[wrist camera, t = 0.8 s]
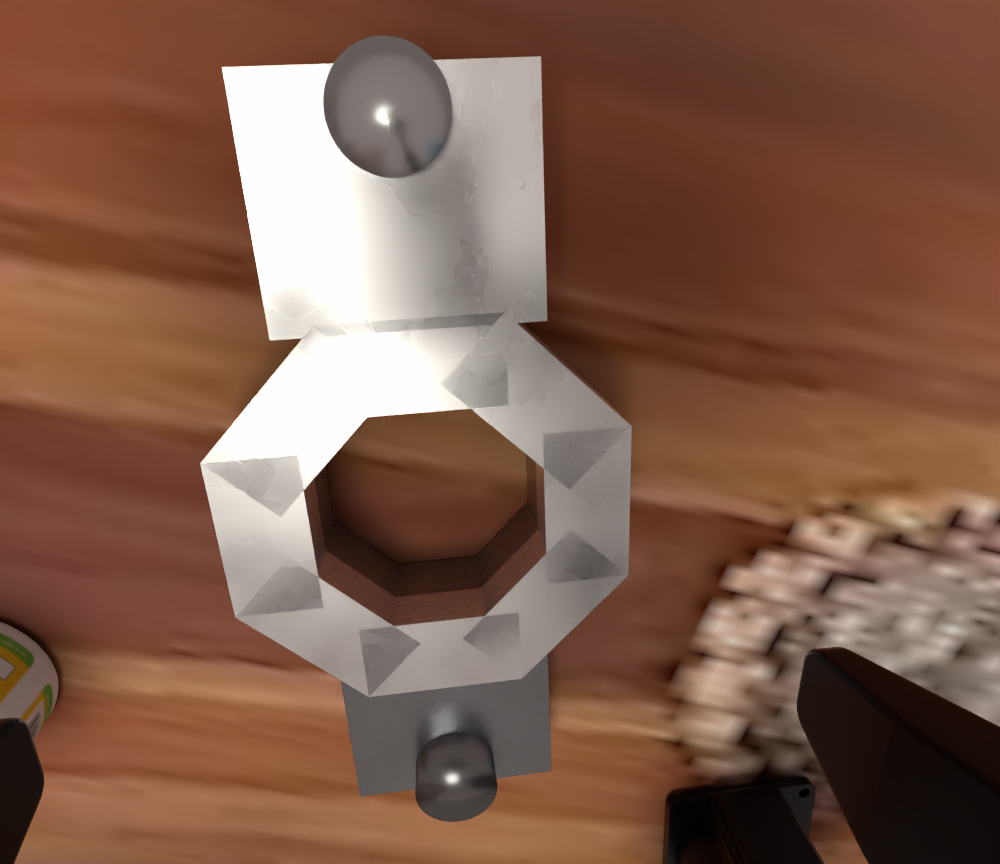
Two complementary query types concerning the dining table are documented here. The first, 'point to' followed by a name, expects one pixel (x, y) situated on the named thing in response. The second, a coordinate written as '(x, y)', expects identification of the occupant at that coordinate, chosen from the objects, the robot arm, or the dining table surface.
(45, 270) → the dining table surface
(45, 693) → the supplement bottle
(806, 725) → the robot arm
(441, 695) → the chain end lower
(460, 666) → the chain end upper
